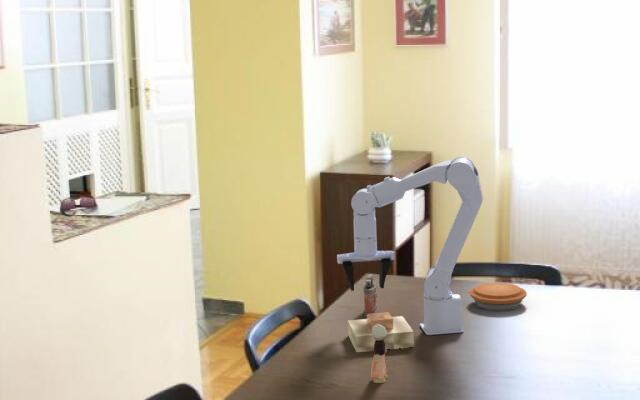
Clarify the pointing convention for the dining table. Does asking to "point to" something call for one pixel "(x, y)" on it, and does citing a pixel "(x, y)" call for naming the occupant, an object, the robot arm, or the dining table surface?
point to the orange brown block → (380, 320)
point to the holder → (393, 340)
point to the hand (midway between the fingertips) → (366, 288)
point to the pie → (498, 296)
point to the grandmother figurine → (379, 354)
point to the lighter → (370, 296)
